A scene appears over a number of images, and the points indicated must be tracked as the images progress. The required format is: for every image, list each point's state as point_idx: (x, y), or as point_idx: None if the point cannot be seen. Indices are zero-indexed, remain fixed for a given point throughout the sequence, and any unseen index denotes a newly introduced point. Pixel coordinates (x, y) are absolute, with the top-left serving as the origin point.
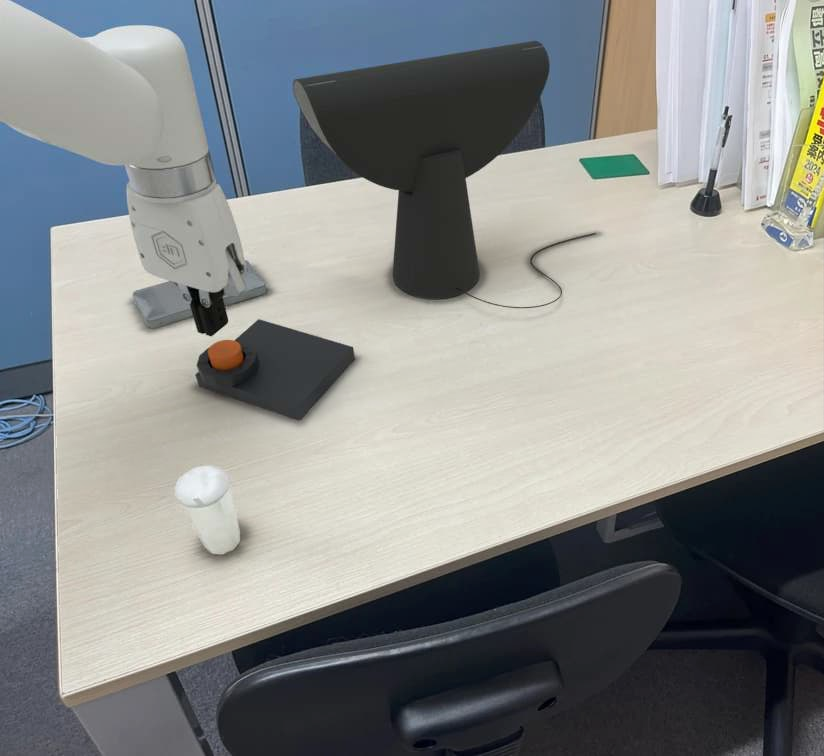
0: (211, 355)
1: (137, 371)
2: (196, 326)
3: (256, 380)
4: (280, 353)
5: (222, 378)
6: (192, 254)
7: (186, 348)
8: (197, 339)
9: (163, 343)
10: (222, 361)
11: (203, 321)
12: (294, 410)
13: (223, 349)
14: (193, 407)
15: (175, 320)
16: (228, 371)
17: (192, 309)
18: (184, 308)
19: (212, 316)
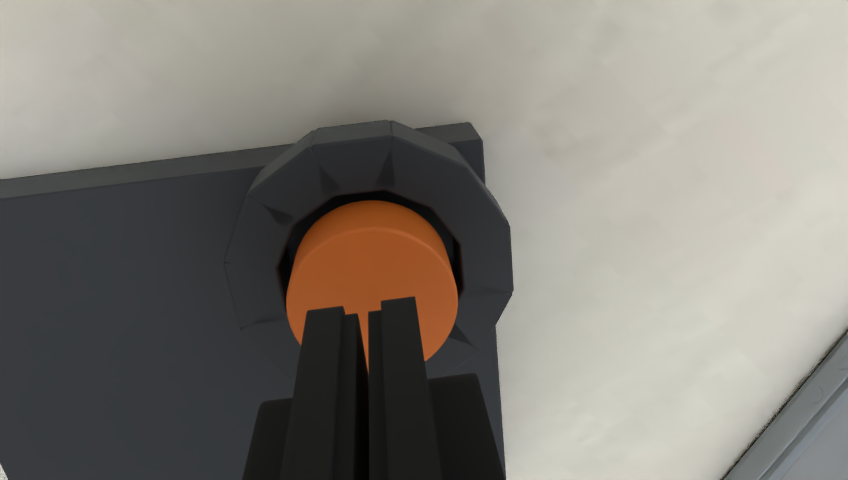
0: (391, 238)
1: (785, 55)
2: (415, 324)
3: (205, 255)
4: None
5: (283, 164)
6: None
7: (688, 265)
8: (684, 322)
9: (795, 239)
10: (319, 238)
11: (317, 385)
12: None
13: (372, 303)
14: (390, 7)
15: (834, 354)
16: (285, 213)
17: (418, 446)
18: (835, 416)
19: (274, 465)
